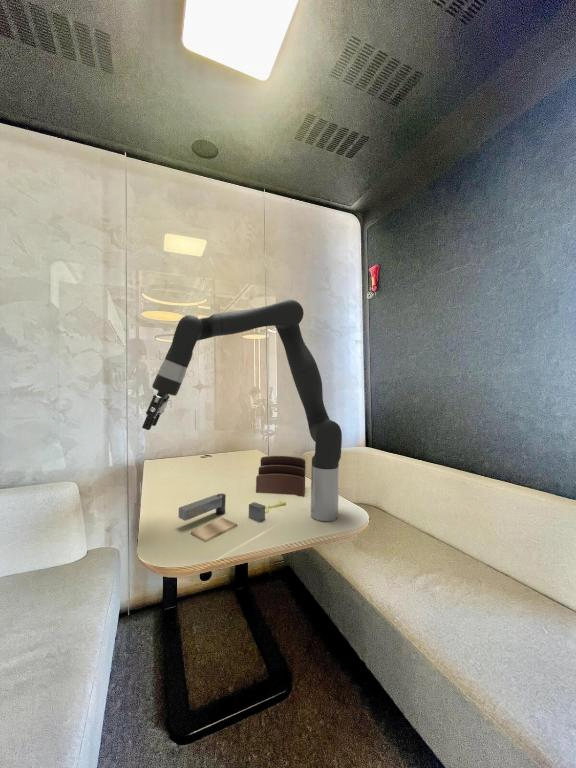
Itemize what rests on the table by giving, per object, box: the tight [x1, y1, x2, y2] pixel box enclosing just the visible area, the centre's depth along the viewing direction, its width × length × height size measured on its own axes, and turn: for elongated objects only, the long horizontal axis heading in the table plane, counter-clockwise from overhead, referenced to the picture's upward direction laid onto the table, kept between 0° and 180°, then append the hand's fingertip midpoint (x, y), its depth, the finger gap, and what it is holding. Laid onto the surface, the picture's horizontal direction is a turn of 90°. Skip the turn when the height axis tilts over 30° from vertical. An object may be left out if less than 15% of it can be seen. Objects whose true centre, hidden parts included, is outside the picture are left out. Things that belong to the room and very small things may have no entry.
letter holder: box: [255, 455, 306, 497], centre depth 126 cm, size 10×20×14 cm, turn 84°
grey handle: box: [178, 493, 227, 522], centre depth 97 cm, size 17×4×6 cm, turn 143°
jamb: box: [248, 501, 266, 523], centre depth 100 cm, size 10×19×5 cm, turn 53°
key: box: [264, 500, 287, 514], centre depth 108 cm, size 7×12×2 cm, turn 138°
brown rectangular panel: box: [190, 517, 238, 543], centre depth 90 cm, size 12×7×1 cm, turn 143°
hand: (149, 427), depth 90 cm, fingers open, 8 cm apart
